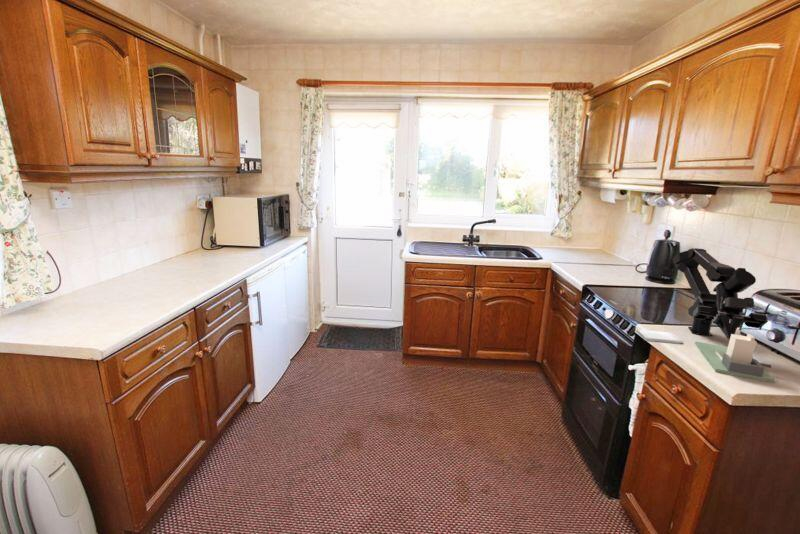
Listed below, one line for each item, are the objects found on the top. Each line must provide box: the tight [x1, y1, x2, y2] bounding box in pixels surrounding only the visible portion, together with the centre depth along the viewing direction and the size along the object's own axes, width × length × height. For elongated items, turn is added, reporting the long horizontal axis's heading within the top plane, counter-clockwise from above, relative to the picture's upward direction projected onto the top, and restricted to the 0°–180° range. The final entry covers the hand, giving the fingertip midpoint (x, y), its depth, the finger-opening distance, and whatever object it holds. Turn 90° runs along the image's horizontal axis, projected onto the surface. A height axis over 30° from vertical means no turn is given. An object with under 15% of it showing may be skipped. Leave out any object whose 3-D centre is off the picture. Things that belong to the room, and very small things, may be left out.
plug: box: [726, 333, 772, 369], centre depth 118 cm, size 4×10×10 cm, turn 66°
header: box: [721, 354, 765, 377], centre depth 116 cm, size 6×8×3 cm
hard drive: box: [635, 329, 684, 344], centre depth 141 cm, size 2×8×12 cm
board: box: [694, 341, 776, 383], centre depth 124 cm, size 22×14×2 cm, turn 156°
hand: (730, 339), depth 126 cm, fingers closed
